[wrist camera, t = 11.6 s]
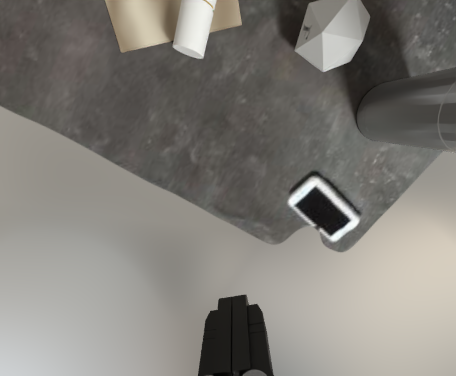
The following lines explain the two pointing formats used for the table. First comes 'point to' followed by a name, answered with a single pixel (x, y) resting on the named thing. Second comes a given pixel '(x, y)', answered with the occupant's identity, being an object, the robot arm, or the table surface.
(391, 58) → the table surface
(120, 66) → the table surface
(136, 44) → the birch board
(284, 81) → the table surface
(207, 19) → the tube
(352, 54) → the die
